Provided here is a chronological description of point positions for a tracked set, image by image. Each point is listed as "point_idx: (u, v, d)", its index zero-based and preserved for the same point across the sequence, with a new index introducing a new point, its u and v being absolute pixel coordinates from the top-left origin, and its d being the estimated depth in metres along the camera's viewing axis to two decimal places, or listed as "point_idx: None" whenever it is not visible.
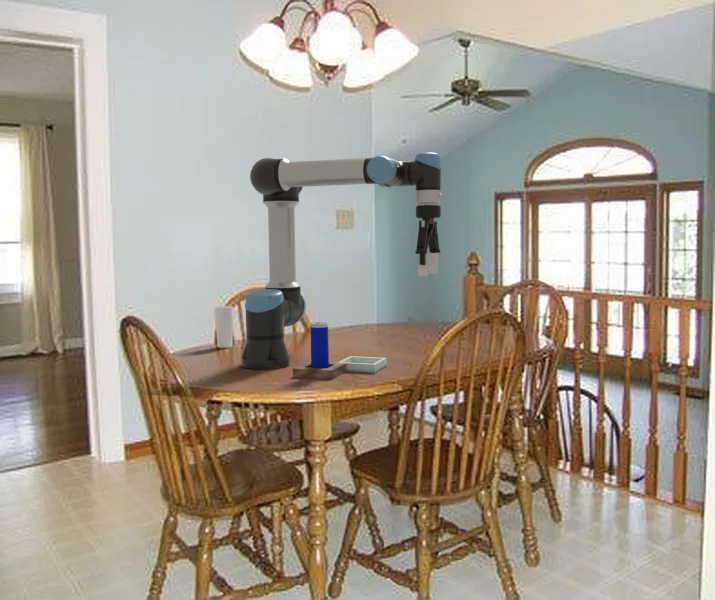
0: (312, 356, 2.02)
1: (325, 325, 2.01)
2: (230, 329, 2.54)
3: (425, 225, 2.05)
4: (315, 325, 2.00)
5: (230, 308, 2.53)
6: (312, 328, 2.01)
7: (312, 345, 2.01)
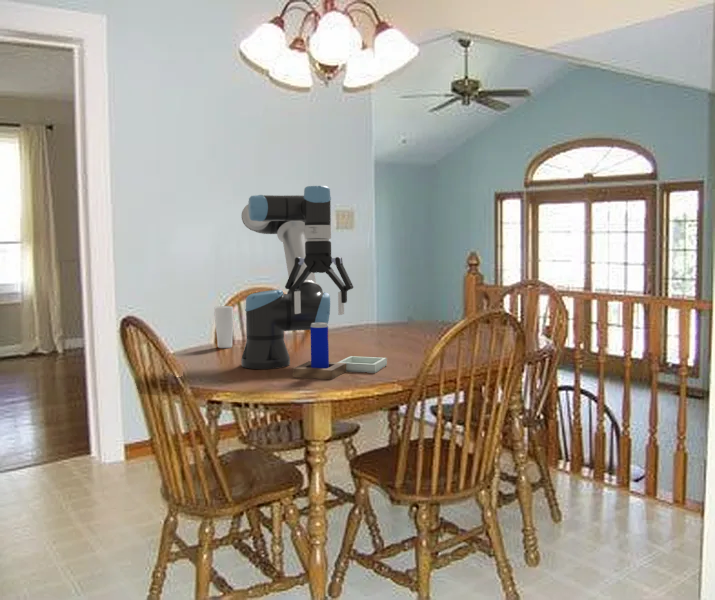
0: (312, 356, 2.02)
1: (325, 325, 2.01)
2: (230, 329, 2.54)
3: None
4: (315, 325, 2.00)
5: (230, 308, 2.53)
6: (312, 328, 2.01)
7: (312, 345, 2.01)
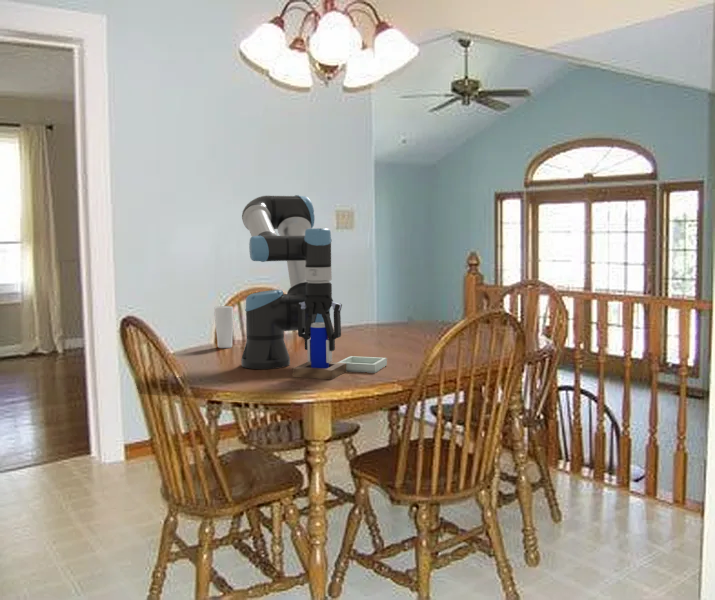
0: (312, 356, 2.02)
1: None
2: (230, 329, 2.54)
3: None
4: (315, 325, 2.00)
5: (230, 308, 2.53)
6: (312, 328, 2.01)
7: (312, 345, 2.01)
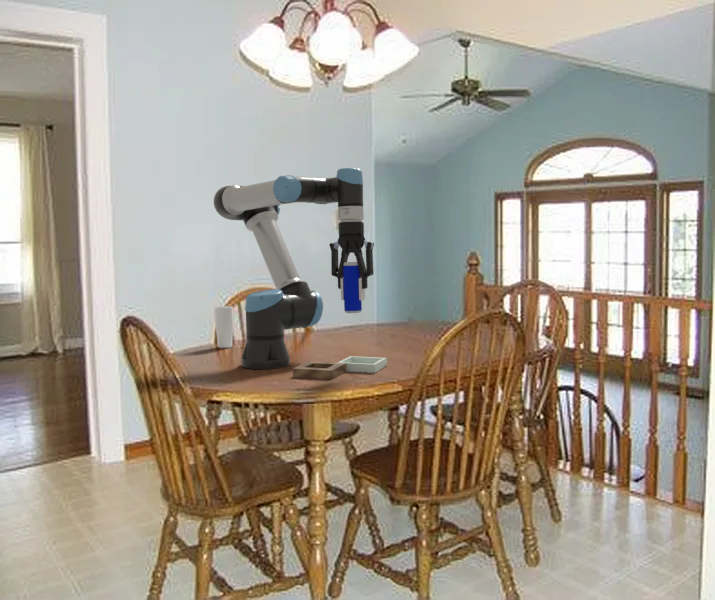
0: (345, 294, 2.06)
1: (357, 263, 2.05)
2: (230, 329, 2.54)
3: None
4: (348, 263, 2.04)
5: (230, 308, 2.53)
6: (345, 266, 2.05)
7: (345, 283, 2.05)
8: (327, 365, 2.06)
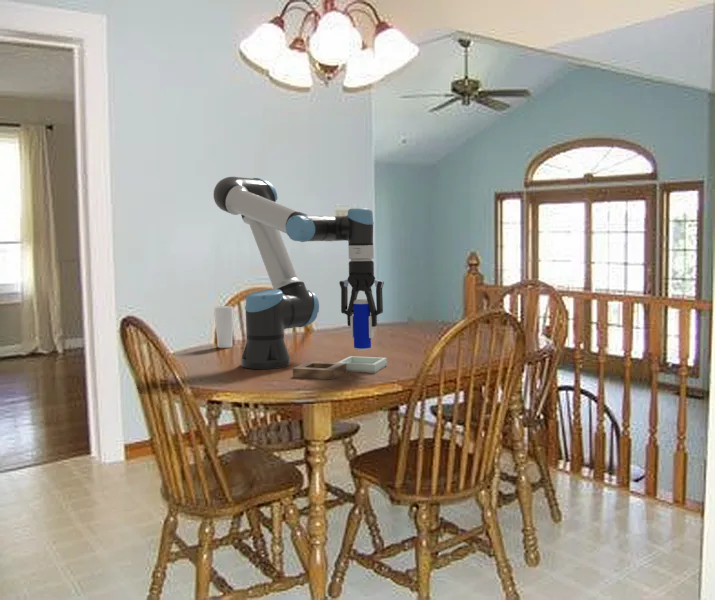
0: (355, 332, 2.09)
1: (367, 301, 2.09)
2: (230, 329, 2.54)
3: None
4: (358, 301, 2.08)
5: (230, 308, 2.53)
6: (355, 304, 2.08)
7: (355, 321, 2.09)
8: (327, 365, 2.06)
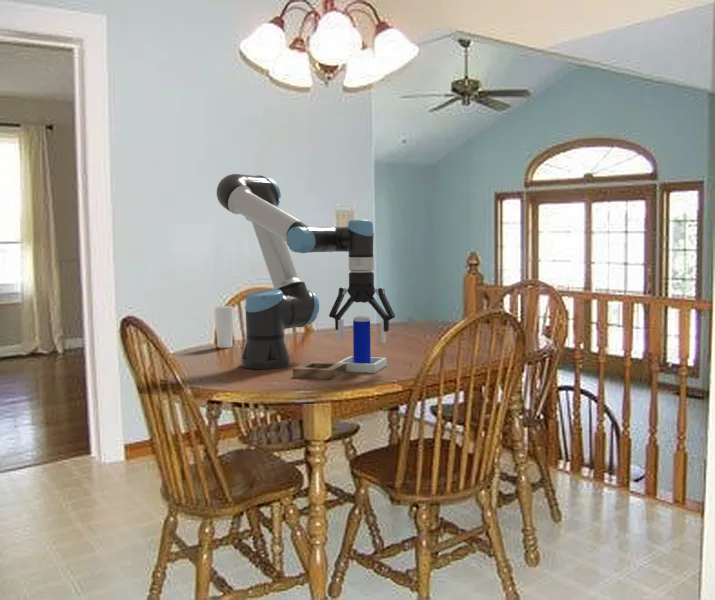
0: (355, 349, 2.10)
1: (367, 319, 2.09)
2: (230, 329, 2.54)
3: None
4: (358, 319, 2.08)
5: (230, 308, 2.53)
6: (355, 322, 2.09)
7: (355, 338, 2.09)
8: (327, 365, 2.06)
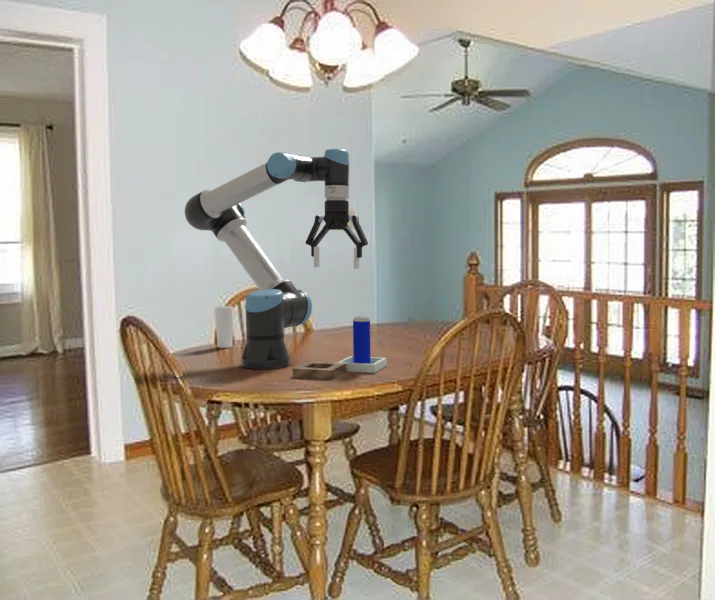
0: (355, 349, 2.10)
1: (367, 319, 2.09)
2: (230, 329, 2.54)
3: None
4: (358, 319, 2.08)
5: (230, 308, 2.53)
6: (355, 322, 2.09)
7: (355, 338, 2.09)
8: (327, 365, 2.06)
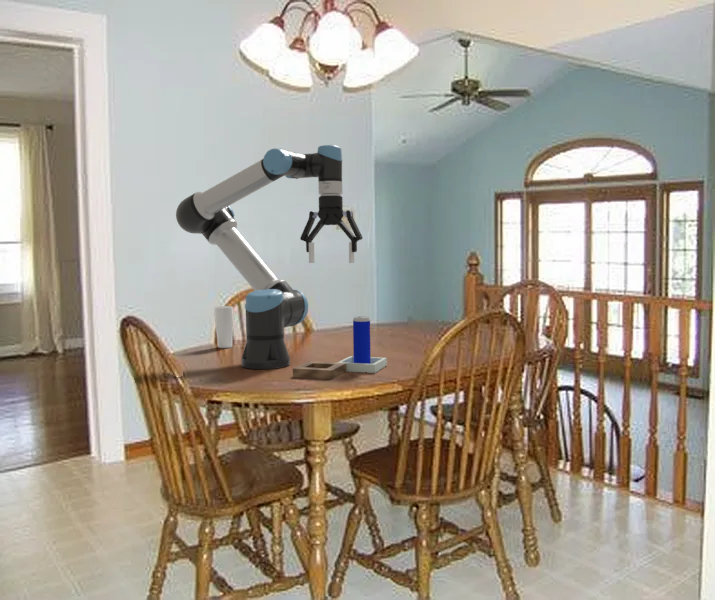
0: (355, 349, 2.10)
1: (367, 319, 2.09)
2: (230, 329, 2.54)
3: None
4: (358, 319, 2.08)
5: (230, 308, 2.53)
6: (355, 322, 2.09)
7: (355, 338, 2.09)
8: (327, 365, 2.06)
